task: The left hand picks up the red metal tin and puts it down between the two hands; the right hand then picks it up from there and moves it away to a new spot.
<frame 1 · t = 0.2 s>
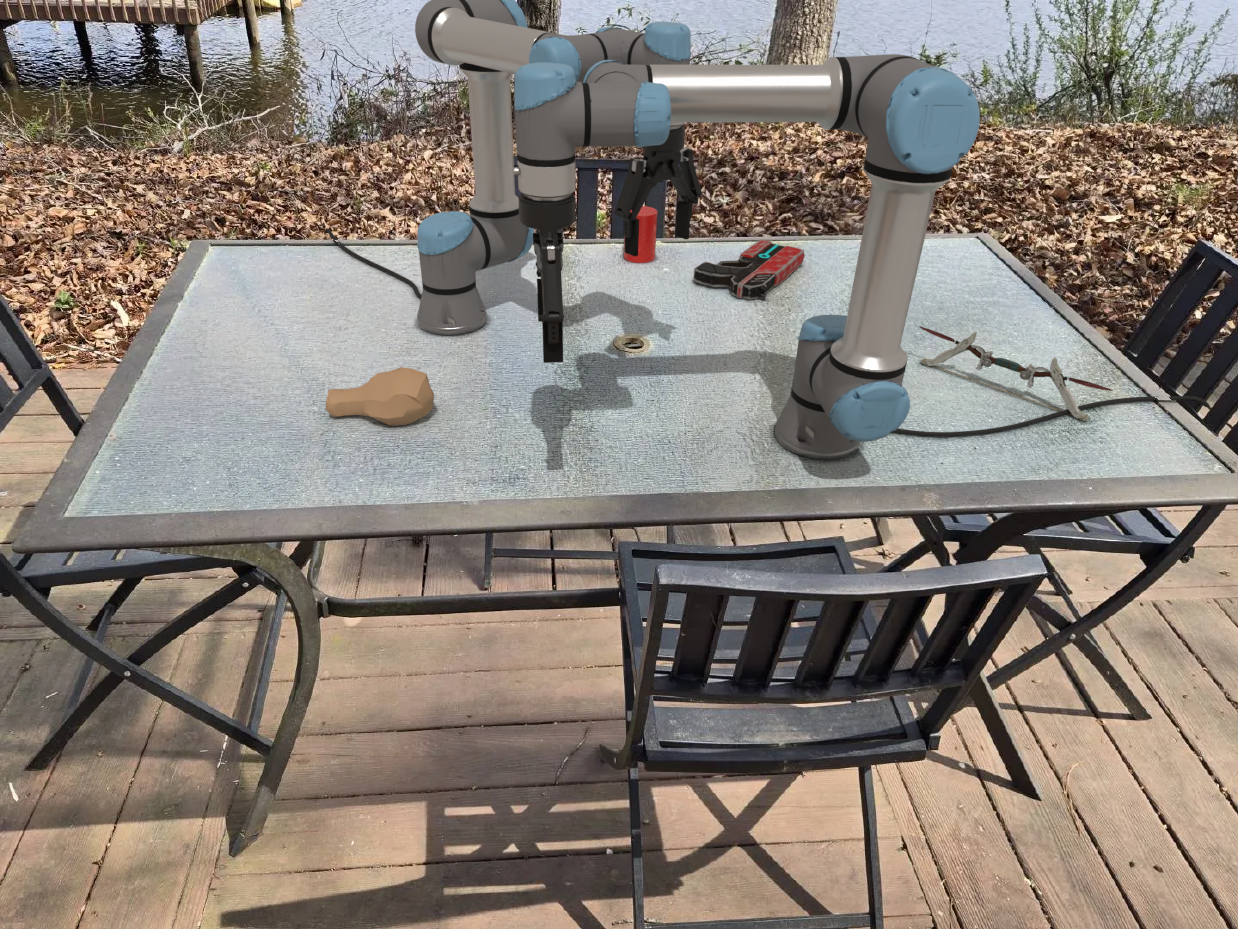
left hand: (657, 245, 161), 28 cm above the table, tool pointing down, fingers open, 13 cm apart
right hand: (550, 340, 127), 28 cm above the table, tool pointing down, fingers open, 13 cm apart
bow: (999, 390, 176), on the table
tin: (639, 257, 234), on the table
gun: (750, 276, 224), on the table
squash: (382, 416, 162), on the table
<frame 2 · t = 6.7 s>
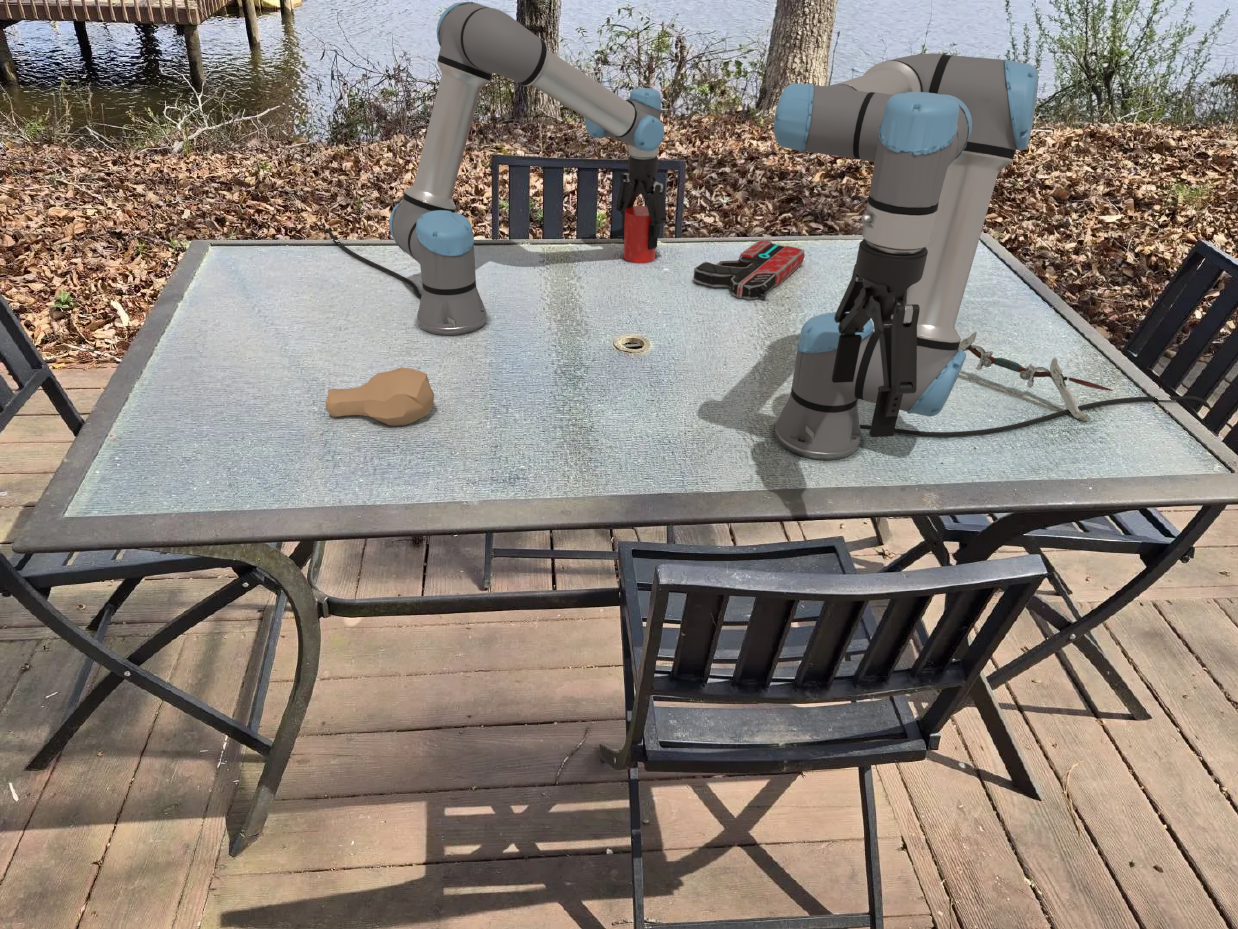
left hand: (639, 243, 232), 4 cm above the table, tool pointing down, fingers closed on tin, 8 cm apart
right hand: (860, 406, 110), 29 cm above the table, tool pointing down, fingers open, 13 cm apart
tin: (639, 257, 234), on the table, touching left hand
everything else where it was.
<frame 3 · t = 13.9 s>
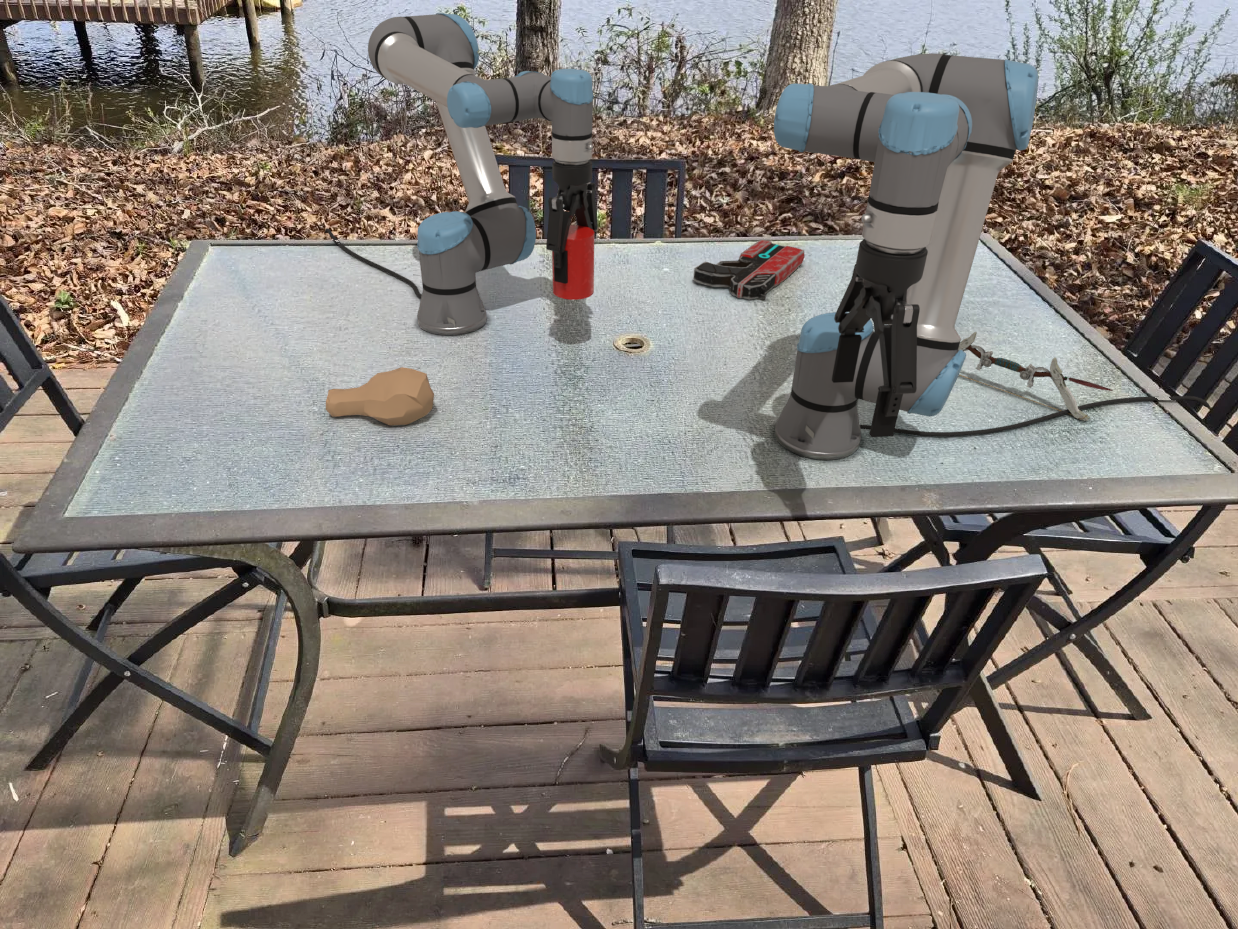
left hand: (572, 274, 177), 17 cm above the table, tool pointing down, fingers closed on tin, 8 cm apart
right hand: (860, 406, 110), 29 cm above the table, tool pointing down, fingers open, 13 cm apart
tin: (573, 291, 179), point 13 cm above the table, touching left hand
everything else where it was.
when the left hand's fingers open (5 cm above the table, at t = 21.1 s): tin drops 1 cm, on the table.
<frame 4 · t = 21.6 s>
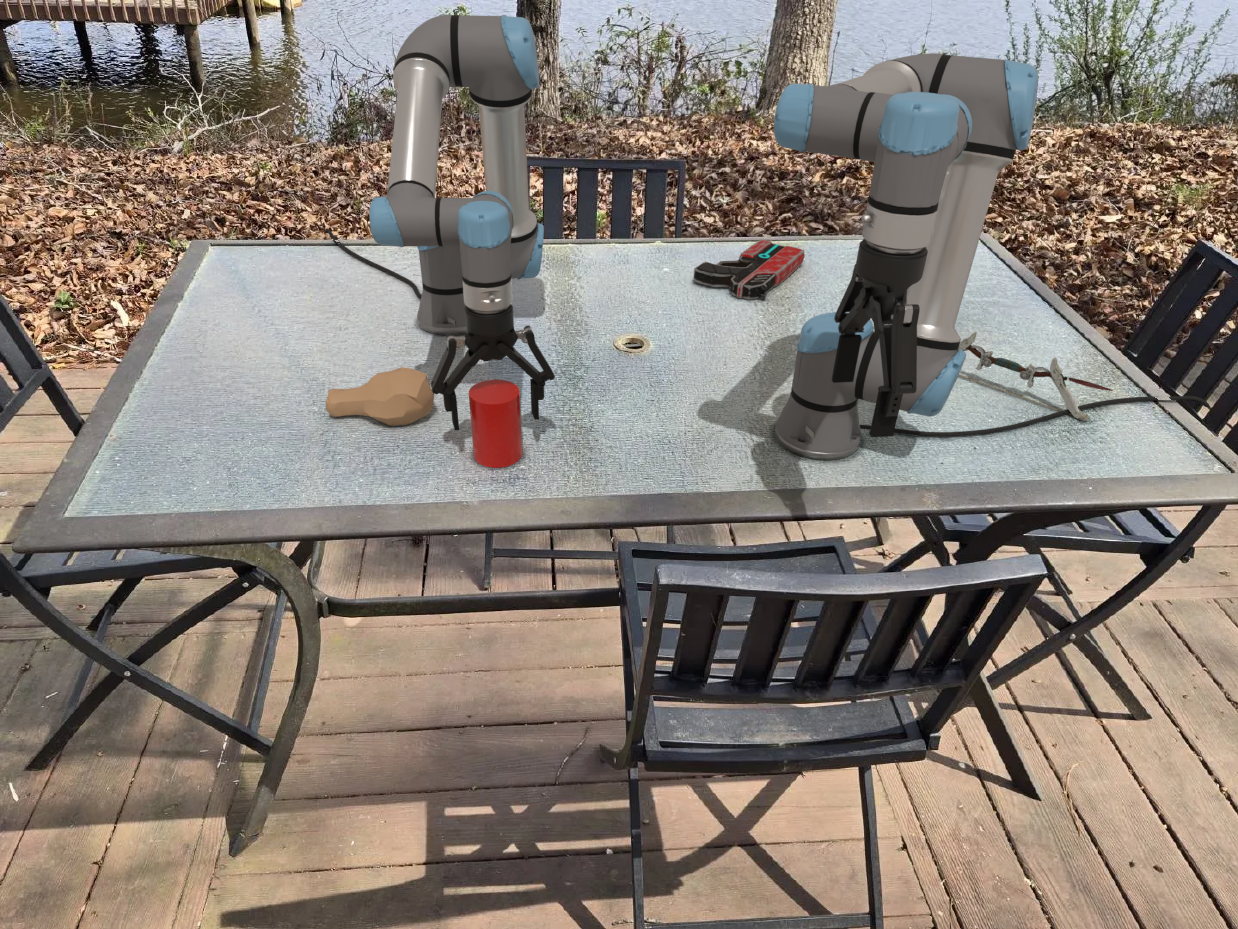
left hand: (496, 421, 149), 7 cm above the table, tool pointing down, fingers open, 13 cm apart
right hand: (860, 406, 110), 29 cm above the table, tool pointing down, fingers open, 13 cm apart
tin: (498, 454, 152), on the table
everything else where it was.
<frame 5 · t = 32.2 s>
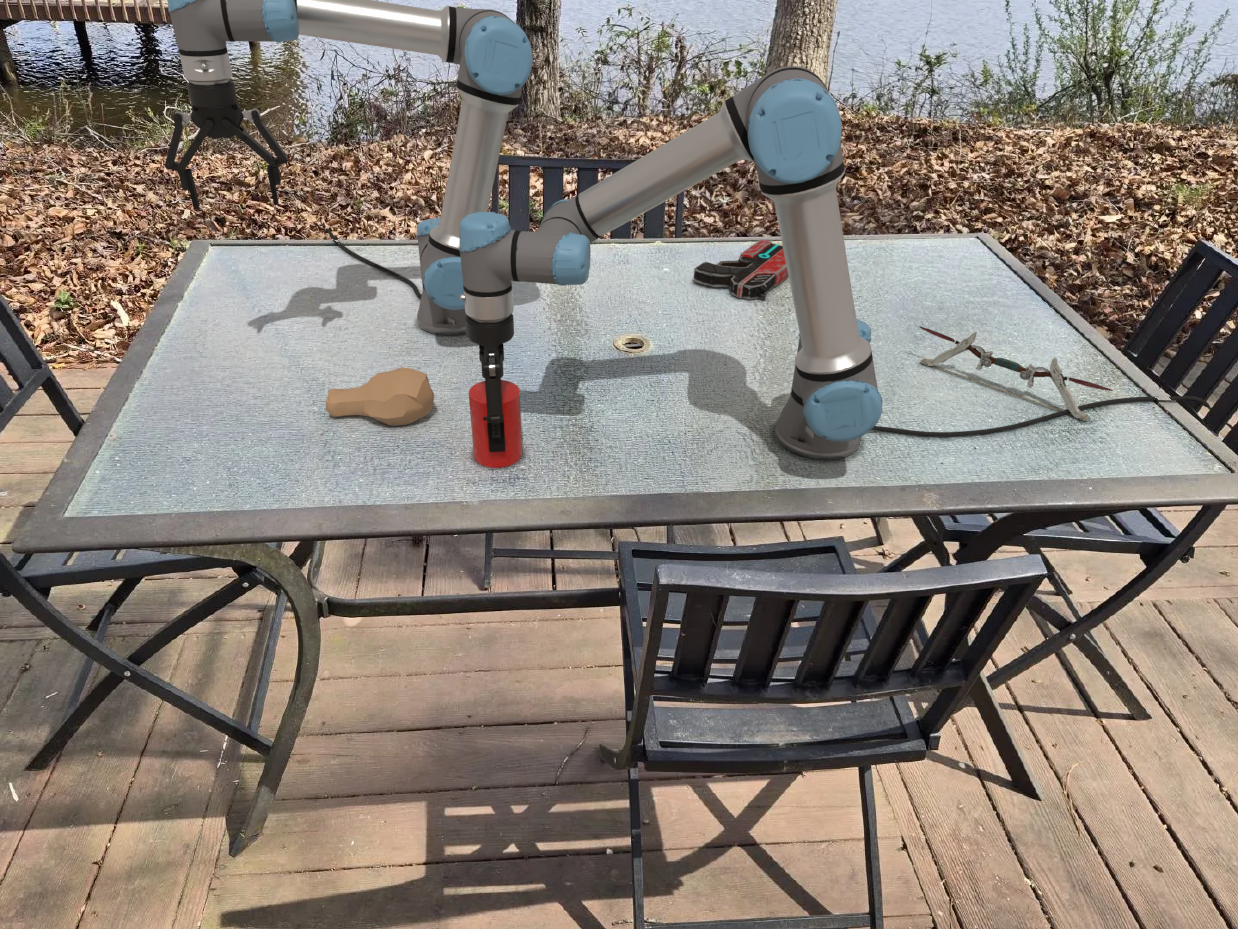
left hand: (237, 205, 160), 32 cm above the table, tool pointing down, fingers open, 13 cm apart
right hand: (496, 436, 150), 4 cm above the table, tool pointing down, fingers closed on tin, 8 cm apart
tin: (498, 454, 152), on the table, touching right hand
everything else where it was.
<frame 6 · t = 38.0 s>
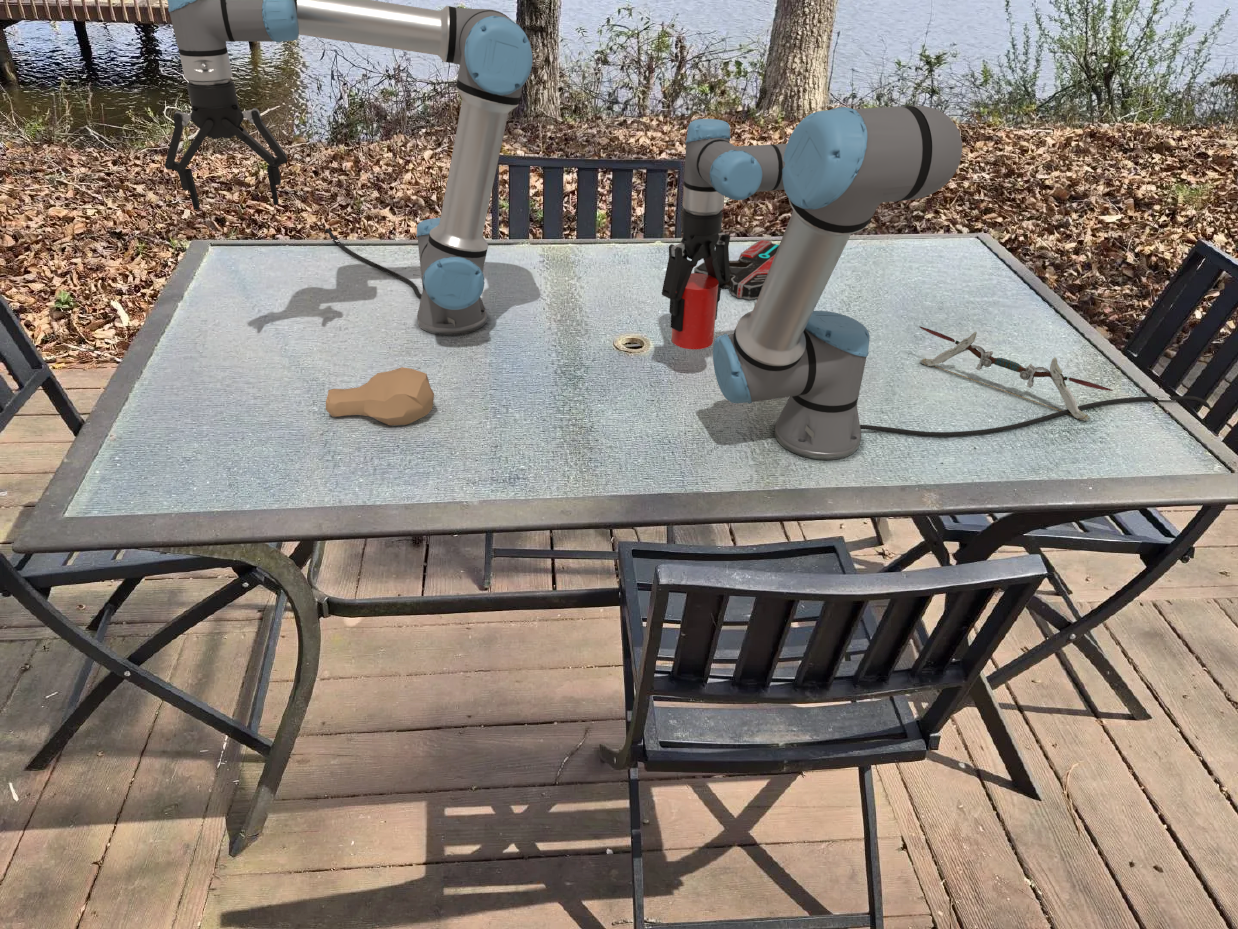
left hand: (237, 205, 160), 32 cm above the table, tool pointing down, fingers open, 13 cm apart
right hand: (693, 323, 173), 11 cm above the table, tool pointing down, fingers closed on tin, 8 cm apart
tin: (692, 340, 175), point 7 cm above the table, touching right hand
everything else where it was.
when the right hand's fingers open (5 cm above the table, at t = 43.9 s): tin drops 1 cm, on the table.
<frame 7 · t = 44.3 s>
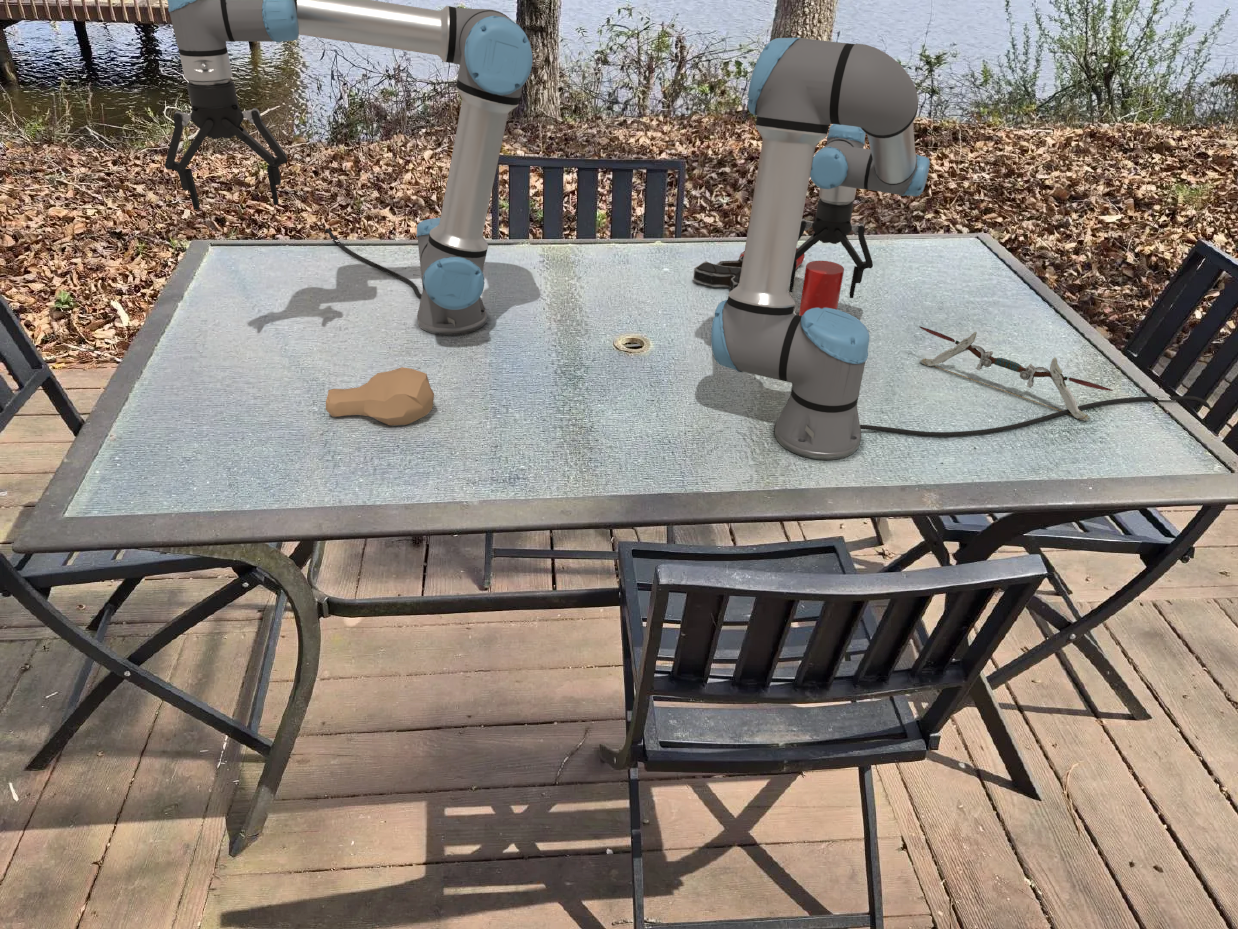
left hand: (237, 205, 160), 32 cm above the table, tool pointing down, fingers open, 13 cm apart
right hand: (820, 293, 200), 6 cm above the table, tool pointing down, fingers open, 13 cm apart
tin: (816, 318, 203), on the table
everything else where it was.
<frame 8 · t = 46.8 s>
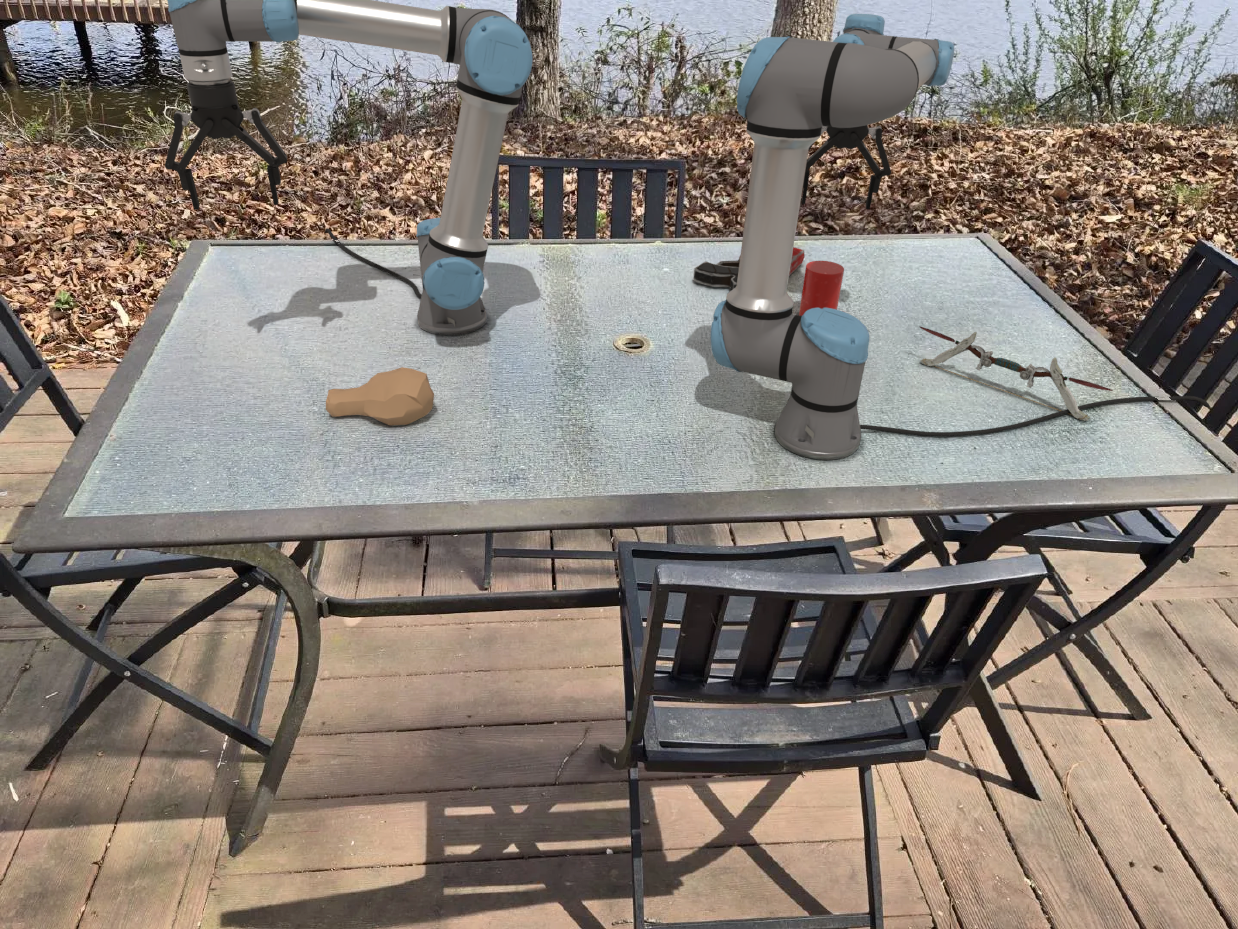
left hand: (237, 205, 160), 32 cm above the table, tool pointing down, fingers open, 13 cm apart
right hand: (835, 204, 189), 26 cm above the table, tool pointing down, fingers open, 13 cm apart
nothing on the table moved.
at the end: tin inside the target area (0.0 cm from its centre), on the table; tin tilted 0°; the two hands never held the tin at the same time; the left hand is holding nothing; the right hand is holding nothing; tin at rest at the end (0.0 cm/s) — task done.
